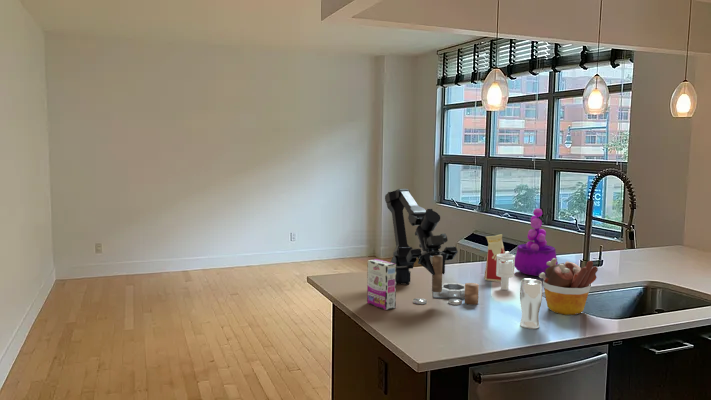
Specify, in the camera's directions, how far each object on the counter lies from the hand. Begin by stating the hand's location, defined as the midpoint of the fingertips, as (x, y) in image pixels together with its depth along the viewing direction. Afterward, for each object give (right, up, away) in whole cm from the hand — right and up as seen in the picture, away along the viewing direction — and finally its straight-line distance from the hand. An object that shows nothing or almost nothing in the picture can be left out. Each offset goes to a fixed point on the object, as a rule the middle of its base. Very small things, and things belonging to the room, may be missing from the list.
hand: (438, 274), depth 202 cm
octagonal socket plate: (+8, -10, +17) cm, 21 cm away
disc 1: (-6, -12, +7) cm, 15 cm away
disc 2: (+7, -12, +6) cm, 15 cm away
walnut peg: (0, -6, +2) cm, 7 cm away
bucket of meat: (+45, -13, -3) cm, 47 cm away
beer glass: (+27, -15, -19) cm, 36 cm away
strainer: (+30, -10, +25) cm, 41 cm away
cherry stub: (+13, -12, +6) cm, 18 cm away
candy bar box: (-21, -12, +2) cm, 24 cm away
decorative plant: (+50, -7, +49) cm, 71 cm away
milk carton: (+30, -8, +41) cm, 52 cm away
